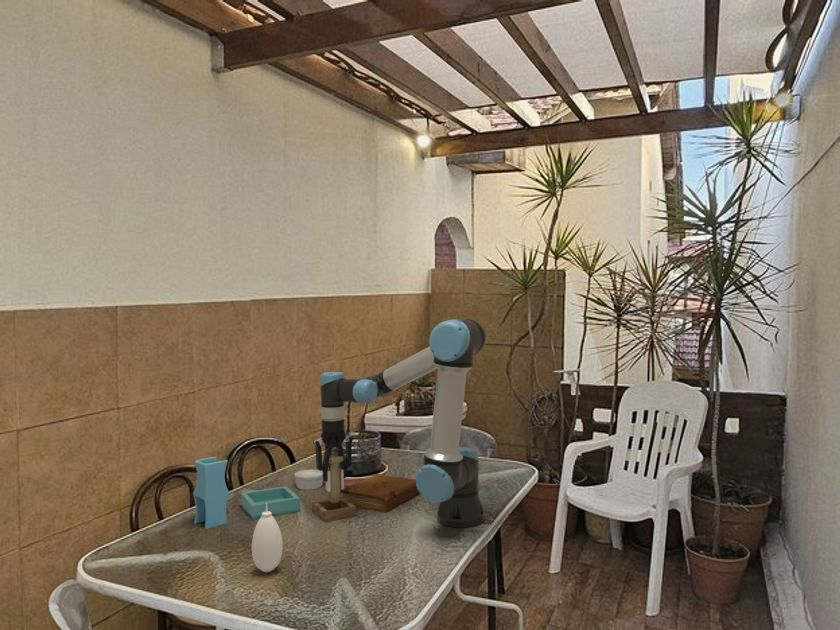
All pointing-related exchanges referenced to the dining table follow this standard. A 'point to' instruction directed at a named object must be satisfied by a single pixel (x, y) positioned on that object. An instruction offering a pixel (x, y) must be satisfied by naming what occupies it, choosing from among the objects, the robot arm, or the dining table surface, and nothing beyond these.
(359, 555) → the dining table surface
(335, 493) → the handle
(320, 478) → the ramekin
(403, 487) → the diary
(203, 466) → the blue tall hollow block
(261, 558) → the white air blower bulb
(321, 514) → the socket
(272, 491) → the parts tray
